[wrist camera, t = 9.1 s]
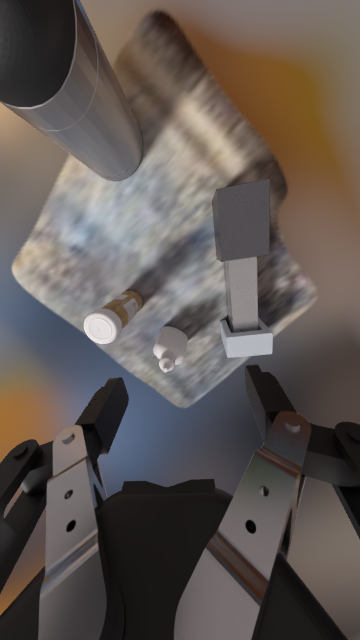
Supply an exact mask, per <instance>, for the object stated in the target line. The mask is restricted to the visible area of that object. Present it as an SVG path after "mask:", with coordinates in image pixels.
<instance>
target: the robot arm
mask: <svg viewBox="0 0 360 640" xmlns="http://www.w3.org/2000/svg"><path fill="white" fill-rule="evenodd" d="M0 102H1V103H2V104H3V105H5V106H6V107H7V108H9V109H10V110H11V111H13V112H14V113H15V114H17V115H18V116H20V117H21V118H22V119H24V120H25V121H26V122H28V123H29V124H31V125H32V126H33V127H35V128H36V129H37V130H39V131H40V132H41V133H43V134H44V135H45V136H47V137H48V138H50V139H51V140H52V141H54V142H55V143H56V144H58V145H59V146H60V147H62V148H63V149H64V150H66V151H67V152H68V153H70V154H71V155H72V156H74V157H75V158H76V159H78V160H79V161H81V162H82V163H83V164H85V165H86V166H87V167H89V168H90V169H91V170H93V171H94V172H95V173H97V174H98V175H100V176H101V177H102V178H105V179H107V180H111V181H121V180H124V179H126V178H128V177H129V176H131V175H132V174H133V173H134V171H135V170H136V169H137V167H138V165H139V163H140V160H141V157H142V151H143V140H142V134H141V131H140V128H139V125H138V123H137V121H136V119H135V116H134V114H133V112H132V110H131V108H130V106H129V103H128V101H127V99H126V97H125V95H124V93H123V91H122V89H121V86H120V84H119V82H118V80H117V78H116V76H115V74H114V72H113V69H112V67H111V65H110V63H109V61H108V59H107V57H106V55H105V52H104V50H103V48H102V46H101V44H100V42H99V40H98V38H97V35H96V33H95V31H94V29H93V27H92V25H91V23H90V20H89V18H88V16H87V14H86V12H85V10H84V8H83V6H82V4H81V2H80V0H0ZM245 383H246V391H247V395H248V398H249V401H250V404H251V407H252V409H253V413H254V415H255V418H256V421H257V424H258V427H259V430H260V433H261V436H262V438H263V441H264V444H263V446H262V448H261V449H257V450H256V451H255V453H254V455H253V457H252V459H251V461H250V463H249V465H248V467H247V469H246V471H245V473H244V476H243V478H242V480H241V482H240V484H239V486H238V488H237V490H236V492H235V494H234V497H233V496H232V495H230V494H229V493H227V492H225V491H223V490H221V489H218V488H215V482H214V479H202V480H201V479H200V480H189V481H186V482H183V483H180V484H177V485H174V486H171V487H163V486H160V485H157V484H153V483H150V482H147V481H127V482H126V481H125V482H124V484H123V487H122V491H119V492H117V493H115V494H113V495H112V496H110V497H108V498H107V495H106V491H105V487H104V483H103V479H102V475H101V470H100V467H99V463H98V461H97V459H98V457H99V455H100V454H108V452H109V450H110V447H111V445H112V442H113V440H114V438H115V435H116V433H117V430H118V428H119V425H120V423H121V420H122V418H123V415H124V413H125V411H126V408H127V406H128V401H129V397H128V393H127V390H126V387H125V384H124V381H123V379H122V378H121V377H118V378H110V379H109V380H108V381H107V383H106V385H105V386H104V387H101V388H100V389H99V390H98V391H97V392H96V393H95V394H94V396H93V397H92V399H91V400H90V402H89V404H88V406H86V408H85V409H84V411H83V413H82V414H81V416H80V417H79V419H78V420H77V422H76V423H75V425H73V426H70V427H68V428H66V429H65V430H63V431H62V432H60V433H59V434H58V435H57V437H56V438H55V440H54V441H51V442H48V443H46V444H43V445H40V446H39V444H38V443H37V441H36V440H33V439H31V440H27V441H24V442H22V443H21V444H19V445H17V446H16V447H15V448H14V449H12V450H11V451H10V452H9V453H8V455H7V456H6V457H5V458H4V459H3V461H2V462H1V463H0V593H1V591H2V589H3V587H4V585H5V583H6V582H7V580H8V578H9V576H10V574H11V572H12V570H13V568H14V566H15V564H16V562H17V561H18V558H19V557H20V555H21V553H22V551H23V549H24V547H25V545H26V543H27V541H28V539H29V537H30V535H31V534H32V532H33V530H34V528H35V526H36V524H37V522H38V520H39V518H40V516H41V514H42V512H43V510H44V509H45V506H46V505H47V511H46V513H47V514H46V517H47V518H46V562H45V564H46V565H45V566H44V567H43V568H42V570H41V571H40V572H39V573H38V574H37V575H36V576H35V577H34V578H33V580H32V581H31V582H30V583H29V584H28V585H27V586H26V587H25V589H24V590H23V591H22V592H21V593H20V594H19V595H18V597H17V598H16V599H15V600H14V601H13V602H12V603H11V604H10V606H8V608H7V609H6V610H5V611H4V612H3V613H2V614H1V615H0V640H348V639H347V638H346V636H345V635H344V634H343V632H342V631H341V630H340V629H339V628H338V626H337V625H336V624H335V622H334V621H333V620H332V618H331V617H330V616H329V615H328V613H327V612H326V611H325V609H324V608H323V607H322V606H321V604H320V603H319V602H318V601H317V599H316V598H315V597H314V595H313V594H312V593H311V591H310V590H309V589H308V588H307V586H306V585H305V584H304V582H303V581H302V580H301V579H300V577H299V576H298V575H297V574H296V572H295V571H294V570H293V568H292V567H291V566H290V565H289V563H288V562H287V559H288V555H289V551H290V546H291V542H292V537H293V533H294V528H295V521H296V517H297V512H298V508H299V503H300V499H301V495H302V491H303V487H304V482H305V478H306V476H308V477H311V478H315V479H318V480H322V481H325V482H328V483H331V484H332V486H333V488H334V490H335V491H336V494H337V496H338V497H339V499H340V501H341V503H342V505H343V507H344V509H345V511H346V513H347V515H348V517H349V519H350V521H351V523H352V525H353V527H354V529H355V531H356V533H357V535H358V536H359V539H360V425H358V424H356V423H351V422H341V423H338V424H337V425H336V426H335V429H332V428H327V427H322V426H317V425H314V424H311V423H309V422H308V420H307V419H306V418H305V417H303V416H302V415H300V414H298V413H297V412H296V411H295V409H294V408H293V406H292V404H291V403H290V401H289V399H288V397H287V396H286V394H285V392H284V391H283V389H282V388H281V386H280V385H279V382H278V381H277V379H276V378H275V377H274V376H273V375H272V374H270V373H269V372H262V371H261V370H260V368H259V366H258V365H257V364H256V365H247V366H245ZM19 487H21V488H22V489H23V491H22V493H21V494H20V496H19V497H18V499H17V501H16V502H15V503H14V505H13V507H12V508H11V510H10V511H9V513H8V514H7V516H6V518H5V519H4V517H3V516H4V511H5V508H6V506H7V504H8V503H9V502H10V500H11V499H12V497H13V496H14V494H15V493H16V491H17V490H18V488H19Z"/></svg>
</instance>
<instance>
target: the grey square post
mask: <svg viewBox="0 0 360 640" xmlns="http://www.w3.org/2000/svg"><path fill="white" fill-rule="evenodd" d="M224 264H225V278H226V292H227V306H228V320H229V329H230V332H231V333H238V332H248V331H257V330H258V291H257V257H250V258H244V259H237V260H230V261H224Z"/></svg>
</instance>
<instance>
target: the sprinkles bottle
mask: <svg viewBox="0 0 360 640" xmlns="http://www.w3.org/2000/svg"><path fill="white" fill-rule="evenodd" d="M142 303H143V302H142V298H141V296H140V295H139V294H138V293H137V292H135V291H125V292H124V293H122V294H121V295H120V296H118V297H117V298H115V299H114V300H112V301H111V302H109V303H108V304H107V305H106V306H104V307H103V308H101V309H97V310H95V311H94V312H92V313H91V314H89V315H88V316H87V317H86V319H85V321H84V330H85V332H86V334H87V336H88V337H89V338H90V339H91V340H93V341H94V342H96V343H100V344H107V343H110V342H112V341H114V340H115V339H116V338H117V337H118V335H119V334H120V333H121V330H122V329H123V328H124V327H125V326H126V325H127V324H128V323H129V321H130V320H131V319H132V318H133V317H134V316H135V314H136V313H137V312H138V311H139V310H140V309H141V308H142Z"/></svg>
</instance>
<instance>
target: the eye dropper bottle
mask: <svg viewBox="0 0 360 640" xmlns="http://www.w3.org/2000/svg"><path fill="white" fill-rule="evenodd" d="M187 341H188V337H187V335H186V334H185V333H183V332H182V331H181V330H179V329H177V328H174V327H170V326H164V327H163V328H162V329H161V331H160V334H159V336H158V339H157V341H156V344H155V346H154V349H153V352H154V354H155V355H156V356H157V357H158V358H159V359H160V361H159V367H160V368H161V369H162V370H163V371H164V372H167V371H171V370H172V369H173V368H174V366H175V365H178V364H182V363H183V361H184V359H185V357H186V352H187Z"/></svg>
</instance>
